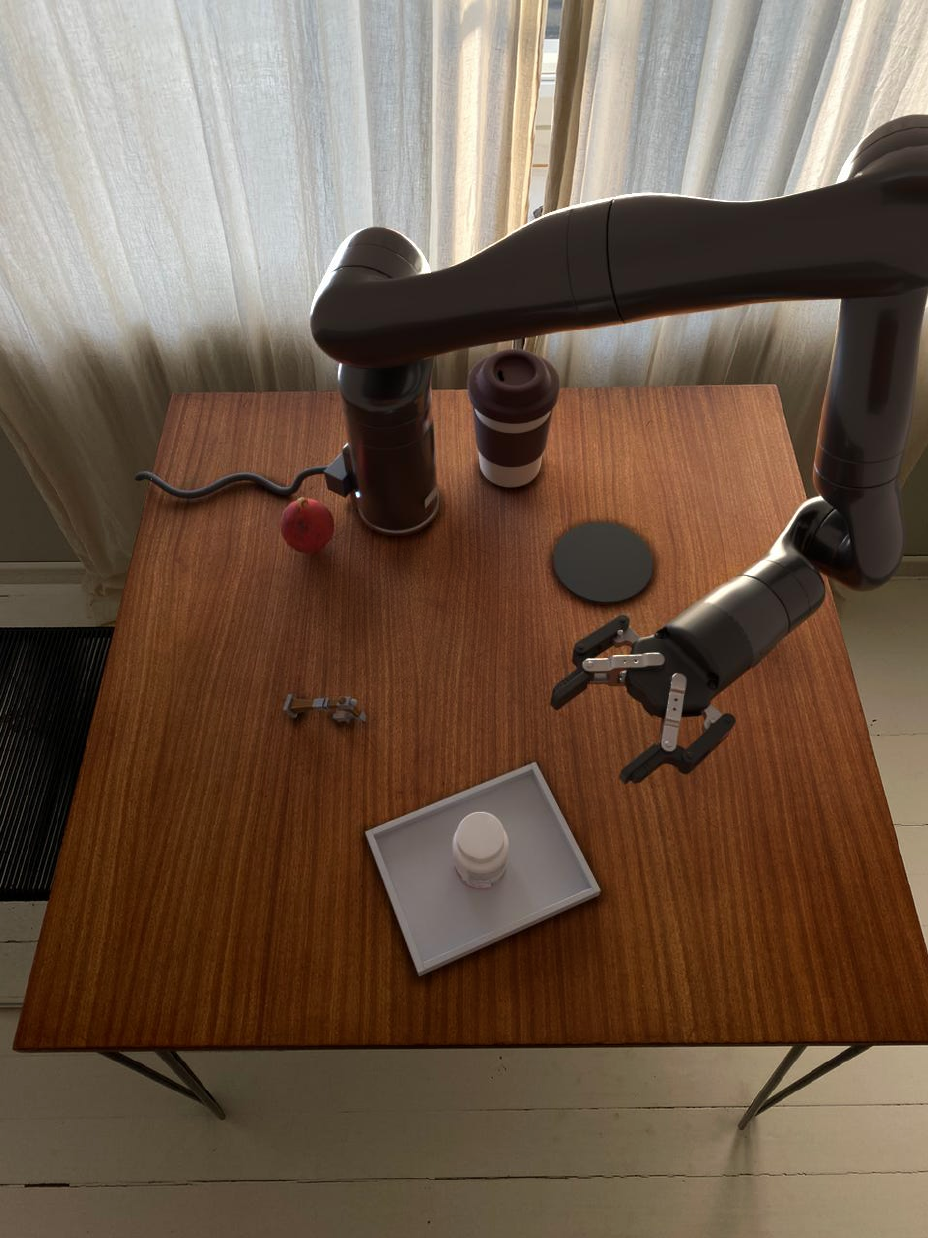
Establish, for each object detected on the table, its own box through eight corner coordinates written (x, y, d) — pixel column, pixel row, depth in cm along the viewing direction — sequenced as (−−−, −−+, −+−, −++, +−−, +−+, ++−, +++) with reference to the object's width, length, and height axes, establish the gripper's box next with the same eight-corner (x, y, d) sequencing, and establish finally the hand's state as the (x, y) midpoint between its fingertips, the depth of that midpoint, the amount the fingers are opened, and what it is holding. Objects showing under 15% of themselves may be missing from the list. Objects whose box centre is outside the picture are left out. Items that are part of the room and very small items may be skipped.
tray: (419, 976, 74) (418, 973, 73) (366, 837, 81) (364, 831, 79) (598, 895, 77) (601, 890, 76) (534, 767, 84) (535, 761, 83)
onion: (330, 570, 97) (318, 526, 90) (280, 562, 97) (265, 517, 91) (344, 530, 100) (334, 483, 93) (296, 522, 100) (282, 476, 94)
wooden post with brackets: (372, 728, 85) (349, 706, 82) (306, 729, 89) (281, 708, 86) (377, 712, 86) (354, 689, 83) (311, 714, 90) (287, 692, 87)
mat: (535, 576, 96) (535, 574, 96) (581, 509, 101) (582, 507, 101) (625, 620, 93) (625, 618, 92) (668, 549, 98) (669, 547, 97)
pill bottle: (452, 841, 80) (449, 809, 73) (503, 836, 80) (506, 804, 73) (456, 893, 77) (454, 865, 70) (509, 888, 78) (512, 860, 70)
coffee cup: (563, 450, 106) (575, 352, 93) (532, 508, 101) (540, 413, 88) (489, 426, 108) (490, 327, 96) (455, 482, 103) (452, 385, 91)
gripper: (672, 559, 77) (533, 659, 72) (798, 669, 71) (655, 786, 66) (658, 606, 84) (529, 701, 79) (772, 710, 77) (641, 820, 72)
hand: (587, 740), depth 72 cm, fingers open, 8 cm apart
